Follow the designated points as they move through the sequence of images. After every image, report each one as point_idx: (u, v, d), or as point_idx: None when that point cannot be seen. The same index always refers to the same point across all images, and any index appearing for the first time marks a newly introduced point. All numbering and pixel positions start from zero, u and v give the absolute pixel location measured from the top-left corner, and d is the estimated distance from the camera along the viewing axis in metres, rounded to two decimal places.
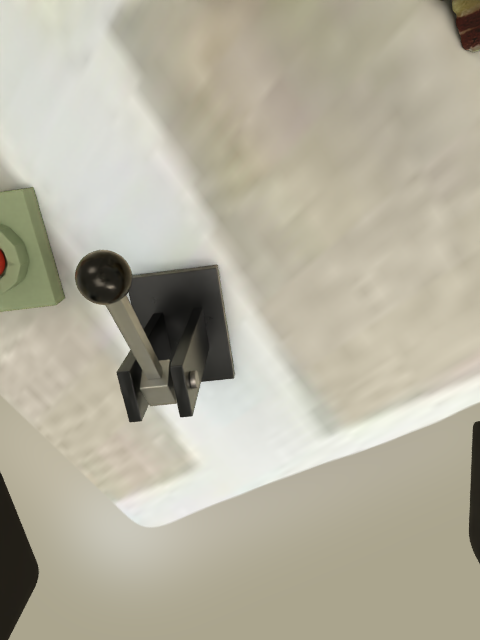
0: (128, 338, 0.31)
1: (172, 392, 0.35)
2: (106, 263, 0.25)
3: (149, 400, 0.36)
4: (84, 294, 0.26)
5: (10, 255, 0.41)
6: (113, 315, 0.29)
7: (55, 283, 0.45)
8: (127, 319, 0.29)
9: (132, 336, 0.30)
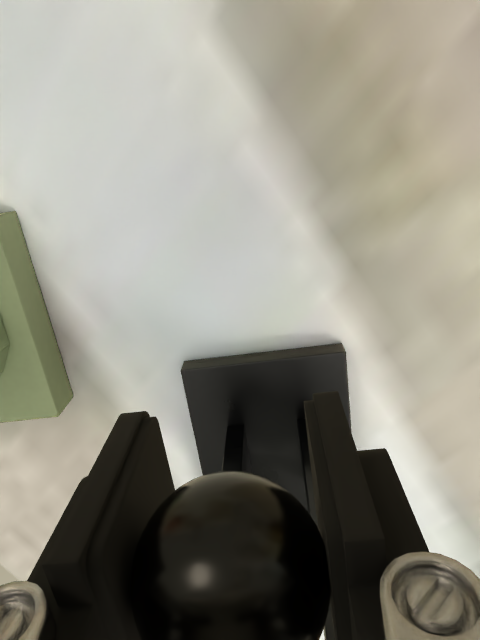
0: None
1: None
2: (268, 580, 0.06)
3: None
4: None
5: None
6: None
7: (57, 377, 0.26)
8: None
9: None
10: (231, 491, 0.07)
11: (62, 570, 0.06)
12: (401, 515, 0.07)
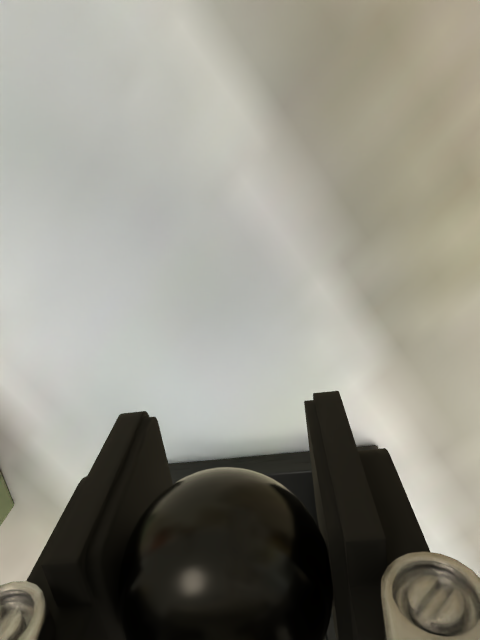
0: None
1: None
2: (261, 511, 0.06)
3: None
4: None
5: None
6: None
7: None
8: None
9: None
10: (234, 468, 0.07)
11: (61, 570, 0.06)
12: (402, 515, 0.07)
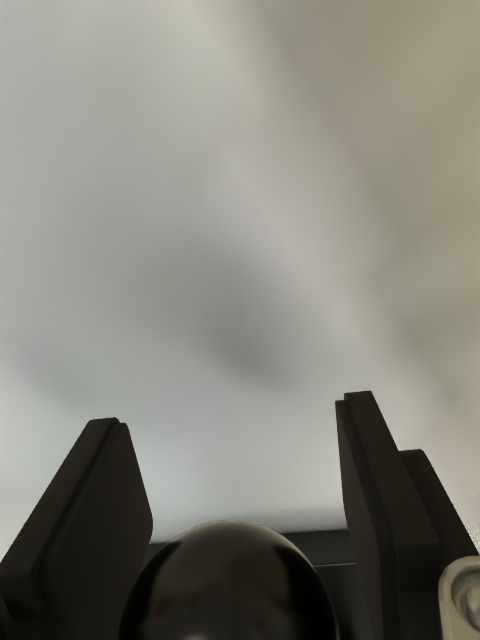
0: None
1: None
2: (265, 545, 0.06)
3: None
4: None
5: None
6: None
7: None
8: None
9: None
10: None
11: (13, 581, 0.06)
12: (446, 517, 0.07)
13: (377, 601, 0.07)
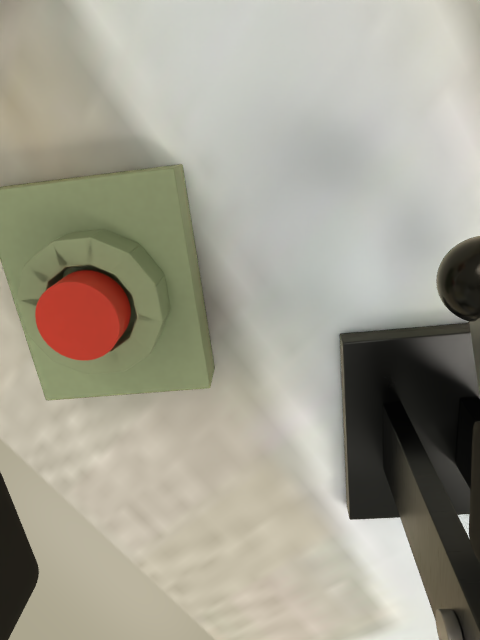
0: None
1: None
2: None
3: None
4: (471, 271, 0.16)
5: (145, 302, 0.20)
6: None
7: (207, 346, 0.24)
8: None
9: None
10: None
11: None
12: None
13: None
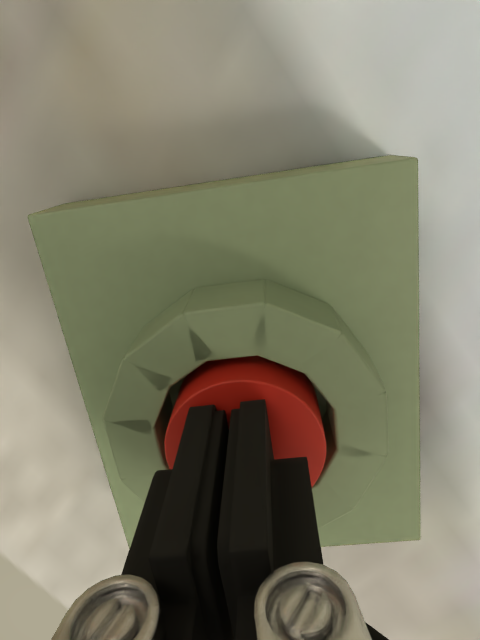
0: None
1: None
2: None
3: None
4: None
5: (359, 422, 0.10)
6: None
7: None
8: None
9: None
10: None
11: (169, 563, 0.06)
12: (305, 524, 0.07)
13: None
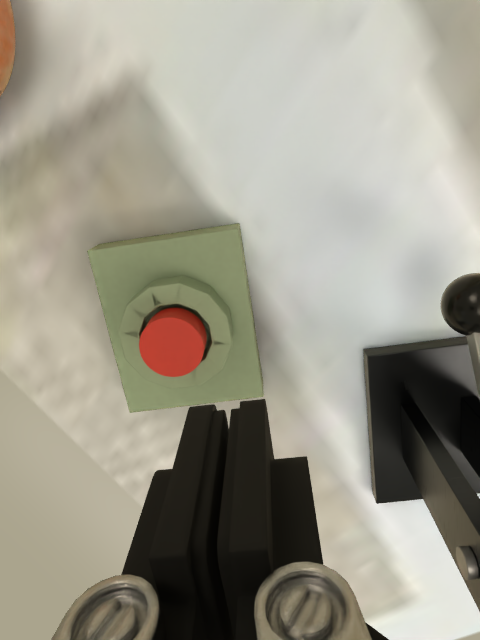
0: None
1: None
2: None
3: None
4: (466, 300, 0.22)
5: (219, 330, 0.26)
6: None
7: (259, 363, 0.30)
8: None
9: None
10: None
11: (169, 563, 0.06)
12: (305, 524, 0.07)
13: None
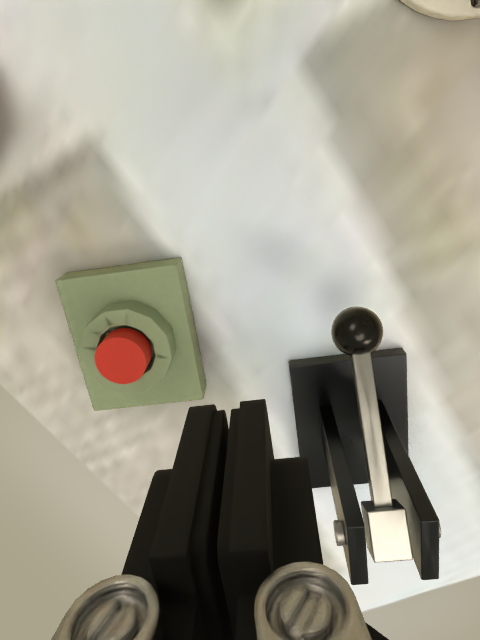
0: (366, 417, 0.28)
1: (408, 531, 0.26)
2: (366, 308, 0.29)
3: (376, 543, 0.26)
4: (344, 329, 0.28)
5: (160, 346, 0.33)
6: (358, 376, 0.28)
7: (200, 371, 0.36)
8: (371, 384, 0.28)
9: (371, 414, 0.28)
10: None
11: (169, 563, 0.06)
12: (305, 524, 0.07)
13: None
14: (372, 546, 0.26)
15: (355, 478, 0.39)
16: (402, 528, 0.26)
